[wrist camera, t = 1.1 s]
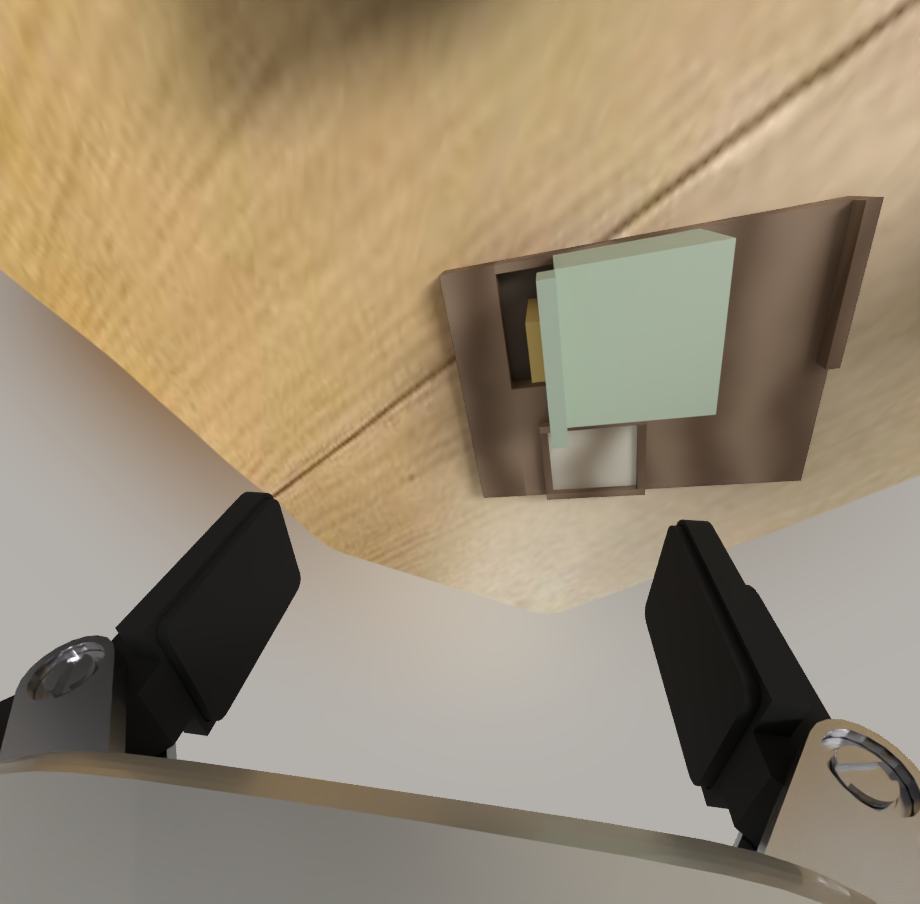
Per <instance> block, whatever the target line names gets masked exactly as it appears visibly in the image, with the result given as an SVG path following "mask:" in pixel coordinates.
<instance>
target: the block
mask: <svg viewBox="0 0 920 904" xmlns="http://www.w3.org/2000/svg"><path fill="white" fill-rule="evenodd" d="M525 324H526V333H527V342H528V351H529V360H530V369H531V377H532V383H535V382H543V381H546V380H545V370H544V359H543V349H542V339H541V329H540V318H539V308H538V298H533V299H528V306H527V314H526V322H525Z"/></svg>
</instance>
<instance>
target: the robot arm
mask: <svg viewBox="0 0 920 904" xmlns="http://www.w3.org/2000/svg"><path fill="white" fill-rule="evenodd" d="M300 578H301V577H300V572H299V569H298V565H297V562H296V559H295V555H294V552H293V548H292V545H291V542H290V538H289V535H288V532H287V528H286V525H285V521H284V518H283V514H282V511H281V508H280V504H279V502H278V501H277V500H275V499H273V496H272V495H271V494H269V493H259V492H245V493H244V494H242V495H241V496H240V497H239V498H238V499H237V500H236V501H235V502H234V503H233V504H232V505H231V506H230V507H229V508H228V509H227V510H226V512H225V513H224V514H223V515H222V516H221V517H220V518H219V519H218V520H217V521H216V522H215V523H214V524H213V525H212V526H211V527H210V528H209V530H208V531H207V532H206V533H205V534H204V535H203V536H202V537H201V538H200V539H199V540H198V541H197V542H196V543H195V544H194V545H193V547H192V548H191V549H190V550H189V551H188V552H187V553H186V554H185V555H184V556H183V557H182V558H181V559H180V560H179V561H178V562H177V563H176V565H174V567H173V568H172V569H171V570H170V571H169V572H168V573H167V574H166V575H165V576H164V577H163V578H162V579H161V580H160V581H159V583H157V585H156V586H155V587H154V588H153V589H152V590H151V591H150V592H149V593H148V594H147V595H146V596H145V597H144V598H143V599H142V600H141V601H140V602H139V603H138V605H137V606H136V607H135V608H134V609H133V610H132V611H131V612H130V613H129V614H128V615H127V616H126V617H125V618H124V619H123V620H122V621H121V623H120V624H119V625H118V626H117V627H116V630H117V631H118V634H117V635H116V637H114V639H113V640H112V641H110V640H109V639H108V638H107V637H103V636H98V635H96V636H85V637H82V638H79V639H76V640H72V641H70V642H68V643H66V644H64V645H62V646H60V647H57V648H56V649H54V650H53V651H51V652H50V653H48V654H47V655H45V656H44V657H42V658H41V659H40V660H39V661H38V662H37V663H36V664H34V665H33V666H32V667H31V668H30V669H29V670H28V672H27V673H26V674H25V676H24V677H23V678H22V679H21V681H20V683H19V685H18V687H17V690H16V692H15V695H14V696H12V697H9V698H7V699H5V700H3V701H1V702H0V904H920V771H919V770H918V769H917V767H916V766H915V765H914V763H913V762H912V761H911V760H910V759H908V758H907V757H906V756H905V755H904V754H903V753H902V752H901V751H900V750H899V749H898V748H897V747H895V746H894V745H893V744H891V743H890V742H888V741H887V740H886V739H884V738H883V737H882V736H880V735H879V734H877V733H875V732H873V731H871V730H869V729H867V728H865V727H863V726H861V725H859V724H855V723H852V722H849V721H845V720H841V719H831V718H830V716H829V714H828V713H827V711H826V709H825V707H824V706H823V704H822V702H821V701H820V699H819V697H818V695H817V694H816V692H815V690H814V689H813V687H812V685H811V684H810V682H809V680H808V678H807V677H806V675H805V673H804V672H803V670H802V668H801V666H800V665H799V663H798V661H797V659H796V658H795V656H794V654H793V652H792V651H791V649H790V648H789V646H788V644H787V642H786V640H785V639H784V637H783V635H782V634H781V632H780V630H779V628H778V627H777V625H776V623H775V622H774V620H773V618H772V616H771V615H770V613H769V612H768V610H767V608H766V606H765V604H764V603H763V601H762V599H761V598H760V596H759V594H758V593H757V592H756V590H755V589H754V588H752V587H751V586H750V585H745V583H744V581H743V579H742V578H741V576H740V574H739V572H738V570H737V569H736V567H735V565H734V563H733V562H732V560H731V558H730V556H729V554H728V553H727V551H726V549H725V547H724V546H723V544H722V542H721V540H720V538H719V537H718V535H717V533H716V531H715V530H714V528H713V526H712V525H711V523H710V522H708V521H694V520H680V521H679V522H678V523H677V525H676V526H670V527H669V529H668V531H667V535H666V538H665V541H664V545H663V548H662V552H661V555H660V558H659V562H658V565H657V568H656V572H655V575H654V579H653V582H652V585H651V589H650V592H649V596H648V599H647V602H646V606H645V619H646V624H647V627H648V631H649V634H650V638H651V641H652V645H653V648H654V652H655V655H656V659H657V662H658V666H659V670H660V673H661V677H662V680H663V684H664V688H665V691H666V695H667V698H668V702H669V705H670V709H671V712H672V716H673V719H674V723H675V726H676V730H677V733H678V737H679V740H680V744H681V748H682V751H683V755H684V759H685V762H686V766H687V769H688V773H689V776H690V778H691V780H692V782H693V784H694V785H696V786H701V788H702V791H703V794H704V798H705V801H706V804H707V806H711V807H718V808H726V809H729V812H730V814H731V818H732V821H733V824H734V827H735V828H736V829H738V830H739V833H738V836H737V838H736V840H735V843H734V845H733V846H728V845H725V844H720V843H716V842H711V841H706V840H702V839H696V838H690V837H685V836H678V835H673V834H667V833H662V832H655V831H650V830H644V829H638V828H633V827H627V826H621V825H615V824H610V823H603V822H597V821H590V820H583V819H577V818H571V817H564V816H557V815H551V814H544V813H538V812H532V811H525V810H519V809H512V808H505V807H499V806H493V805H486V804H480V803H473V802H467V801H460V800H453V799H447V798H440V797H433V796H427V795H420V794H413V793H407V792H400V791H393V790H386V789H379V788H373V787H365V786H359V785H353V784H346V783H339V782H332V781H326V780H319V779H311V778H304V777H298V776H291V775H284V774H277V773H270V772H263V771H256V770H249V769H242V768H235V767H228V766H221V765H214V764H207V763H200V762H193V761H185V760H177V759H176V743H175V742H176V741H177V739H178V738H179V736H180V734H181V733H182V732H183V731H184V733H191V734H198V735H205V736H208V734H209V733H210V731H211V729H212V727H213V726H214V724H215V722H216V721H219V720H221V719H222V718H223V717H224V716H225V715H226V713H227V712H228V710H229V709H230V707H231V705H232V703H233V701H234V700H235V698H236V696H237V695H238V693H239V691H240V689H241V688H242V686H243V684H244V682H245V681H246V679H247V677H248V676H249V674H250V672H251V670H252V669H253V667H254V665H255V663H256V662H257V660H258V658H259V656H260V655H261V653H262V651H263V649H264V648H265V646H266V644H267V642H268V641H269V639H270V637H271V636H272V634H273V632H274V630H275V629H276V627H277V625H278V623H279V622H280V620H281V618H282V616H283V615H284V613H285V611H286V610H287V608H288V606H289V604H290V602H291V601H292V599H293V597H294V596H295V594H296V592H297V590H298V588H299V585H300V580H301V579H300Z"/></svg>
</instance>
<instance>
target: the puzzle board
mask: <svg viewBox="0 0 920 904" xmlns="http://www.w3.org/2000/svg"><path fill="white" fill-rule="evenodd" d="M883 198H884V197H862V196H847V197H842V198H836V199H831V200H825V201H820V202H815V203H809V204H804V205H798V206H793V207H788V208H782V209H777V210H771V211H766V212H761V213H755V214H750V215H744V216H739V217H733V218H728V219H723V220H717V221H712V222H706V223H701V224H696V225H690V226H685V227H679V228H674V229H668V230H663V231H658V232H652V233H647V234H641V235H636V236H631V237H625V238H620V239H614V240H609V241H603V242H598V243H593V244H587V245H582V246H576V247H571V248H566V249H560V250H555V251H549V252H544V253H538V254H533V255H528V256H522V257H517V258H511V259H506V260H501V261H495V262H490V263H484V264H479V265H474V266H468V267H463V268H457V269H452V270H446V271H444V272H443V273H441V274H440V275H439V277H440V282H441V287H442V292H443V297H444V302H445V307H446V312H447V317H448V322H449V327H450V332H451V337H452V342H453V347H454V352H455V357H456V362H457V367H458V372H459V377H460V382H461V387H462V391H463V396H464V401H465V406H466V411H467V416H468V421H469V426H470V431H471V436H472V441H473V446H474V451H475V456H476V461H477V466H478V471H479V476H480V481H481V486H482V491H483V496H484V498H488V497H507V496H525V495H543V494H547V500H550V499H569V498H588V497H607V496H627V495H645V489H653V488H671V487H689V486H708V485H726V484H744V483H762V482H781V481H799V480H801V478H802V474H803V470H804V466H805V462H806V457H807V453H808V449H809V445H810V441H811V437H812V433H813V429H814V425H815V420H816V416H817V412H818V408H819V404H820V400H821V396H822V392H823V388H824V383H825V379H826V375H827V371H828V369H835V368H840V365H841V362H842V358H843V354H844V350H845V346H846V342H847V338H848V334H849V330H850V327H851V323H852V319H853V315H854V311H855V307H856V303H857V299H858V295H859V292H860V288H861V284H862V280H863V276H864V272H865V268H866V264H867V260H868V257H869V253H870V249H871V245H872V241H873V237H874V233H875V229H876V225H877V222H878V218H879V214H880V210H881V206H882V202H883ZM700 228H701V229H705V230H708V231H712V232H716V233H720V234H723V235H727V236H731V237H735V238H736V244H735V252H734V261H733V270H732V279H731V287H730V296H729V305H728V313H727V322H726V331H725V339H724V348H723V357H722V365H721V374H720V383H719V391H718V400H717V409H716V415H706V416H695V417H683V418H672V419H661V420H650V421H639V422H628V423H616V424H605V425H594V426H583V427H572V428H567V433H568V446H569V447H561V448H552V442H551V432H550V421H549V411H548V401H547V390H546V381H543V382H535V383H532V377H531V369H530V360H529V351H528V342H527V333H526V324H525V322H526V314H527V306H528V299H533V298H537V287H536V273H538V272H543V271H549V270H554V267H553V255H557V254H563V253H568V252H574V251H579V250H584V249H590V248H595V247H601V246H606V245H612V244H617V243H623V242H628V241H634V240H639V239H645V238H650V237H656V236H661V235H667V234H672V233H678V232H683V231H689V230H694V229H700Z"/></svg>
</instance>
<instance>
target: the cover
mask: <svg viewBox="0 0 920 904" xmlns="http://www.w3.org/2000/svg"><path fill="white" fill-rule="evenodd" d="M735 244H736V238H735V237H731V236H727V235H723V234H720V233H716V232H712V231H708V230H705V229H701V228H700V229H694V230H689V231H683V232H678V233H672V234H667V235H661V236H656V237H650V238H645V239H639V240H634V241H628V242H623V243H617V244H612V245H606V246H601V247H595V248H590V249H584V250H579V251H574V252H568V253H563V254H557V255H553V267H554V270H549V271H543V272H538V273H536V287H537V298H538V308H539V318H540V329H541V339H542V349H543V359H544V370H545V380H546V390H547V401H548V411H549V421H550V432H551V442H552V448H561V447H569V446H568V433H567V428H572V427H583V426H594V425H605V424H616V423H628V422H639V421H650V420H661V419H672V418H683V417H695V416H706V415H716V409H717V400H718V391H719V383H720V374H721V365H722V357H723V348H724V339H725V331H726V322H727V313H728V305H729V296H730V287H731V279H732V270H733V261H734V252H735Z"/></svg>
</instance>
